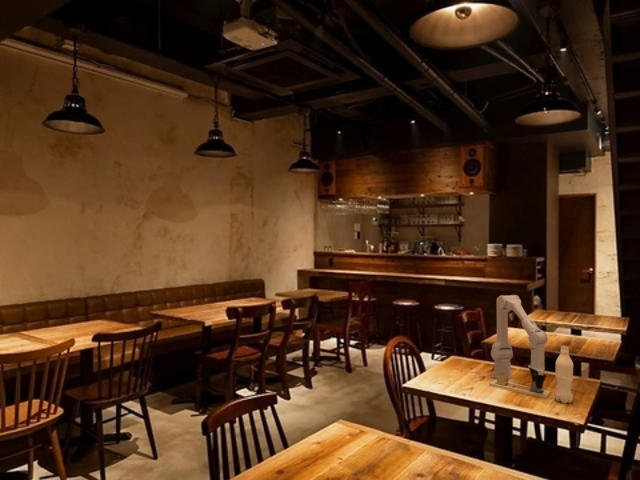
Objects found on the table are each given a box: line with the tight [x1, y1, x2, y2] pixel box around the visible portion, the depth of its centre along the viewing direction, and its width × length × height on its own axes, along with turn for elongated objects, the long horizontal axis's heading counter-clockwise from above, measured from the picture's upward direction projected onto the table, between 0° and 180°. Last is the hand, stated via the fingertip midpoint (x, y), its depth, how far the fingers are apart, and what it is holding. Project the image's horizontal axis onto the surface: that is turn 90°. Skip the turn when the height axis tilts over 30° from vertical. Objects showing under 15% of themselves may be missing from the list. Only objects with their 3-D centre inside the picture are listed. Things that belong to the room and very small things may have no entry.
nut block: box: [530, 379, 544, 394], centre depth 216 cm, size 4×4×6 cm
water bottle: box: [554, 345, 574, 404], centre depth 206 cm, size 7×7×25 cm
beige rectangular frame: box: [488, 379, 552, 399], centre depth 222 cm, size 8×26×1 cm, turn 50°
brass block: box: [496, 372, 509, 386], centre depth 227 cm, size 4×4×6 cm
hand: (537, 385), depth 216 cm, fingers open, 7 cm apart
